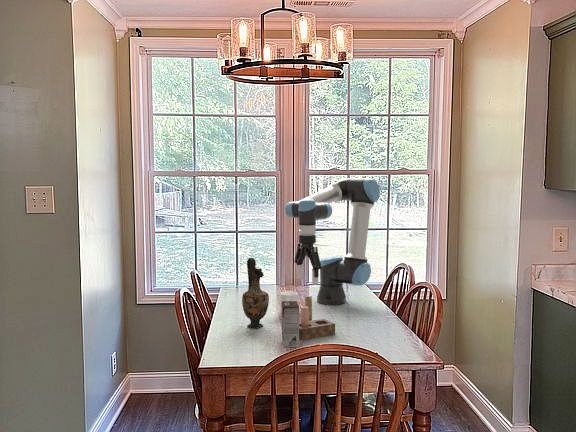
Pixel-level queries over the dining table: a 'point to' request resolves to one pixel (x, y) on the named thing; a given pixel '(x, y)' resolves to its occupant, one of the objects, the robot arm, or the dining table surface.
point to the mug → (288, 297)
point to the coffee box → (290, 323)
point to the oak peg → (309, 305)
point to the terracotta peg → (304, 316)
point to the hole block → (316, 329)
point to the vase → (254, 296)
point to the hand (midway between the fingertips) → (307, 281)
